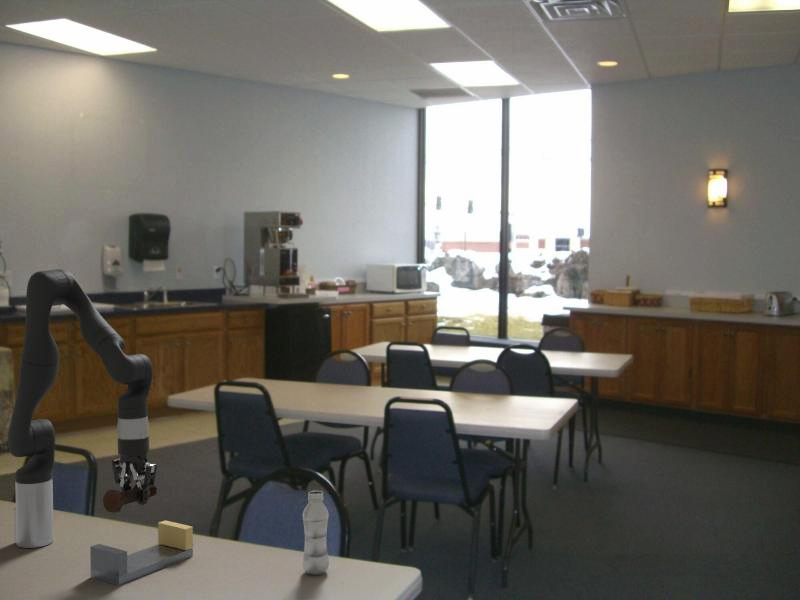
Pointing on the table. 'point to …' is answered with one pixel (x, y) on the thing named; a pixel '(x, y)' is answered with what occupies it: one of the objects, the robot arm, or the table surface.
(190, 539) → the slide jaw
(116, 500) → the bolt
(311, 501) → the plastic bottle
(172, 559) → the plate
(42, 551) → the table surface
